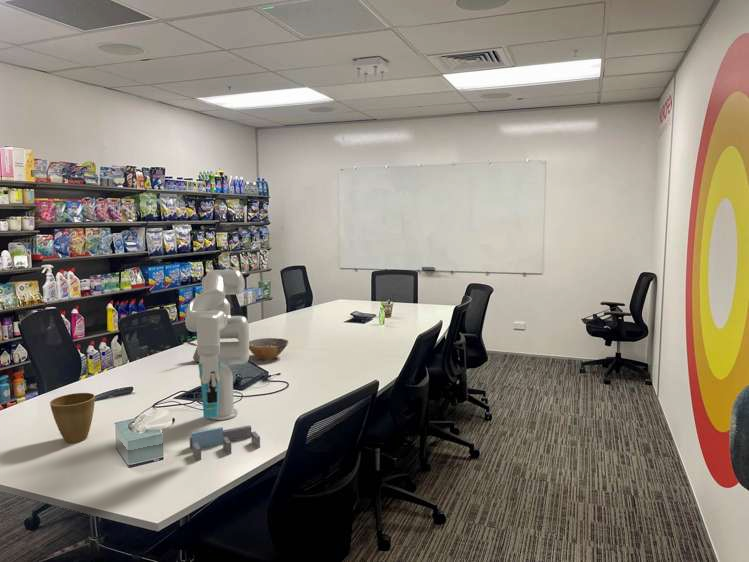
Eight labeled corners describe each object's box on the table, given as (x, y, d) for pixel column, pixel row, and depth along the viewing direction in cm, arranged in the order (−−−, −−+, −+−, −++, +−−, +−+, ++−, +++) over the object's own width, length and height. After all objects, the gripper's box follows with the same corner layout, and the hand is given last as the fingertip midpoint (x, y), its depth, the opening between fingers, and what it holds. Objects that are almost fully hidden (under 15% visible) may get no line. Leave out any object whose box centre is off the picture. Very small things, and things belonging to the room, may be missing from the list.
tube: (200, 419, 189) (199, 365, 186) (199, 414, 193) (197, 362, 191) (222, 416, 192) (221, 363, 189) (221, 412, 196) (219, 360, 194)
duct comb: (189, 446, 200) (189, 431, 199) (250, 435, 211) (249, 420, 210) (196, 460, 188) (196, 443, 188) (260, 447, 199) (259, 431, 199)
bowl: (297, 356, 331) (296, 340, 330) (268, 365, 311) (268, 348, 309) (266, 351, 345) (266, 335, 344) (237, 359, 324) (236, 343, 323)
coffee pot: (200, 358, 327) (199, 334, 325) (217, 359, 324) (216, 335, 322) (178, 367, 306) (177, 341, 305) (196, 369, 303) (195, 342, 302)
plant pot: (87, 428, 217) (84, 390, 215) (104, 438, 207) (101, 397, 206) (46, 440, 205) (43, 399, 204) (62, 451, 196) (59, 408, 194)
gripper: (193, 345, 195) (194, 395, 197) (202, 356, 181) (204, 409, 183) (214, 343, 199) (215, 392, 201) (225, 353, 184) (227, 405, 186)
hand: (210, 399), depth 192 cm, fingers closed on tube, 4 cm apart
